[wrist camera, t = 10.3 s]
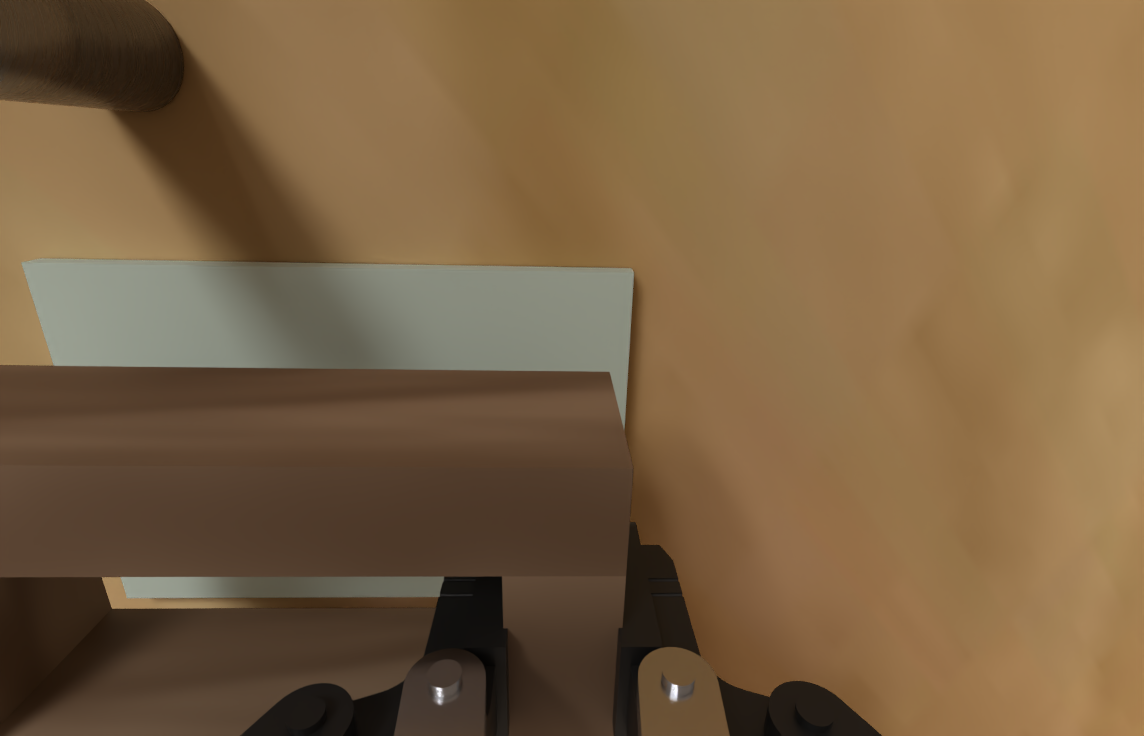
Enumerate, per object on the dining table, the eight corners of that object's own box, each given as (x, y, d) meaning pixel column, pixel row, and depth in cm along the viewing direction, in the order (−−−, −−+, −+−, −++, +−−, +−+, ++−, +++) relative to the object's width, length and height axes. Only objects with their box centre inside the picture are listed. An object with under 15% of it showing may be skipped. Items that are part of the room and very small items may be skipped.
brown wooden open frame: (-70, 364, 12) (-354, 463, 8) (609, 371, 12) (633, 468, 9) (52, 670, 15) (-116, 845, 11) (595, 666, 15) (608, 832, 12)
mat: (40, 258, 16) (21, 262, 15) (631, 268, 16) (633, 272, 16) (139, 585, 20) (127, 597, 19) (612, 583, 20) (614, 596, 20)
